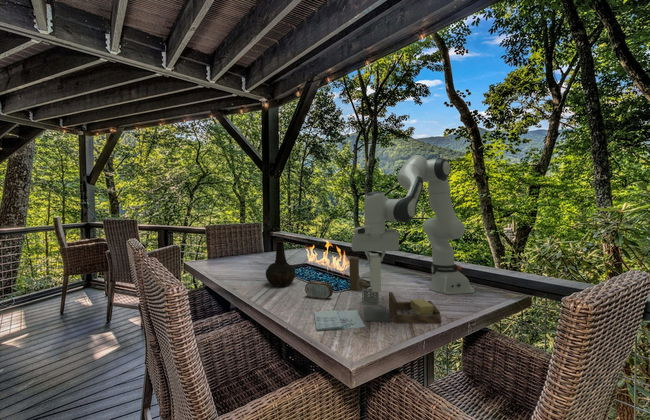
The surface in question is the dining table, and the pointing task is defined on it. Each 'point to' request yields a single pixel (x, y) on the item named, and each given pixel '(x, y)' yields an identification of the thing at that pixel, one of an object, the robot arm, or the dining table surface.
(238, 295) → the dining table surface
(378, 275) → the pale grey rectangular block
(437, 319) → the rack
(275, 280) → the dark brown vase
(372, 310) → the pad
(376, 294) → the french press
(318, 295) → the tin
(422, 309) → the offcut upper
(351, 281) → the wooden block
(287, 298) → the dining table surface
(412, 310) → the offcut lower
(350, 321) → the light flat printed piece
